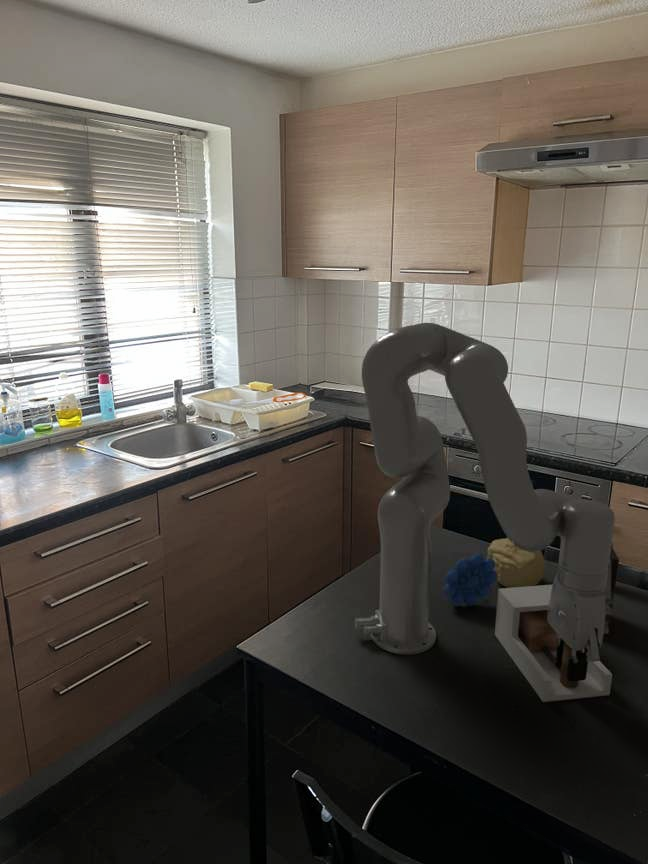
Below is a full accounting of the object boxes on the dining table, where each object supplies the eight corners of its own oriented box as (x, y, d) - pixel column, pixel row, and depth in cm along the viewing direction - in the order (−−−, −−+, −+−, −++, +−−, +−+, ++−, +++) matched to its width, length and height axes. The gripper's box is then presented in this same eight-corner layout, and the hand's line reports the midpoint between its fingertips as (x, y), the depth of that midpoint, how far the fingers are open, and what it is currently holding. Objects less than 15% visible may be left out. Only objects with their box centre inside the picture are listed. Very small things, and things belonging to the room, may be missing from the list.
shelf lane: (543, 701, 107) (548, 649, 105) (494, 634, 126) (498, 588, 124) (609, 694, 109) (616, 643, 106) (551, 629, 128) (556, 584, 125)
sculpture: (478, 580, 147) (481, 537, 144) (511, 566, 154) (515, 524, 151) (519, 601, 138) (523, 555, 136) (552, 585, 145) (557, 541, 142)
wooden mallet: (557, 689, 108) (561, 647, 106) (514, 634, 124) (518, 597, 122) (590, 685, 109) (595, 644, 107) (543, 631, 125) (547, 594, 123)
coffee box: (610, 634, 126) (620, 559, 122) (575, 631, 128) (584, 556, 123) (600, 610, 135) (609, 539, 131) (568, 607, 136) (576, 537, 132)
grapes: (487, 593, 142) (491, 543, 138) (499, 609, 135) (504, 557, 132) (436, 597, 140) (439, 546, 137) (446, 613, 134) (449, 561, 130)
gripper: (536, 554, 112) (527, 647, 117) (587, 603, 97) (574, 707, 102) (576, 552, 113) (566, 643, 118) (633, 599, 98) (618, 702, 103)
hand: (570, 671), depth 110 cm, fingers closed on wooden mallet, 3 cm apart
